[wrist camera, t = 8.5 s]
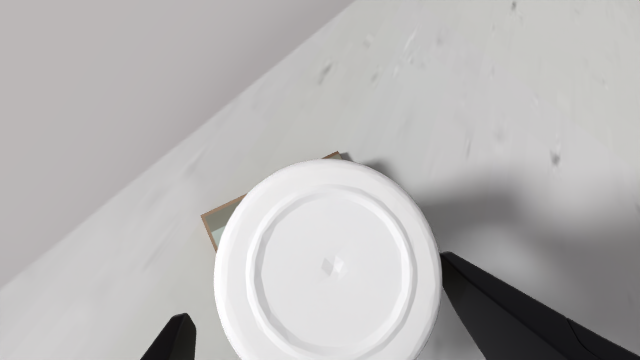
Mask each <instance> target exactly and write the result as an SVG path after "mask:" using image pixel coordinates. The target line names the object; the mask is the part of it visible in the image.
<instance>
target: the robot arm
mask: <svg viewBox="0 0 640 360" xmlns="http://www.w3.org/2000/svg"><path fill="white" fill-rule="evenodd" d="M439 255H440V259H441V268H442V286H443V288H444V290H445V292H446V294H447V296H448V298H449V300H450V302H451V304H452V305H453V307H454V309H455V311H456V313H457V315H458V316H459V318H460V319H461V321H462V323H463V324H464V326H465V327H466V329H467V330H468V332H469V333H470V335H471V337H472V338H473V340H474V341H475V343H476V344H477V346H478V348H479V349H480V351H481V352H482V354H483V355H484V357H485V358H486V360H640V356H638V355H636V354H634V353H632V352H630V351H628V350H626V349H625V348H623V347H621V346H619V345H617V344H615V343H613V342H611V341H609V340H607V339H605V338H603V337H601V336H600V335H598V334H596V333H594V332H592V331H590V330H589V329H587V328H585V327H583V326H581V325H580V324H578V323H576V322H574V321H573V320H571V319H569V318H566V317H565V316H564V315H562V314H560V313H558V312H556V311H555V310H553V309H551V308H549V307H548V306H546V305H544V304H542V303H541V302H539V301H537V300H535V299H533V298H532V297H530V296H528V295H526V294H525V293H523V292H521V291H519V290H518V289H516V288H514V287H512V286H510V285H509V284H507V283H505V282H503V281H502V280H500V279H498V278H496V277H494V276H493V275H491V274H489V273H487V272H486V271H484V270H482V269H480V268H479V267H477V266H475V265H473V264H471V263H470V262H468V261H466V260H464V259H463V258H461V257H459V256H457V255H456V254H454V253H452V252H449V251H447V252H443V253H439ZM195 344H196V327H195V325H194V323H193V321H192V320H191V318H190V316H189V315H188V314H187V313H182V314H178V315H175V316H173V317H172V318H171V319H170V320H169V322H168V323H167V324H166V326H165V327H164V328H163V330H162V331H161V332H160V334H159V335H158V336H157V338H156V339H155V340H154V342H153V343H152V345H151V346H150V347H149V349H148V350H147V351H146V353H145V354H144V355H143V357H142V358H141V359H140V360H194V358H195Z"/></svg>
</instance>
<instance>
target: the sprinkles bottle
mask: <svg viewBox="0 0 640 360" xmlns="http://www.w3.org/2000/svg"><path fill="white" fill-rule="evenodd" d="M214 292H215V300H216V305H217V310H218V314H219V317H220V320H221V323H222V326H223V329H224V331H225V334H226V336H227V338H228V340H229V342H230V343H231V345H232V347H233V348H234V350H235V351H236V353H237V354H238V356H239V357H240V358H241V360H415V359H416V358H417V357H418V355H419V354H420V352H421V351H422V349H423V348H424V346H425V345H426V343H427V341H428V339H429V337H430V334H431V332H432V330H433V327H434V325H435V322H436V319H437V316H438V312H439V307H440V302H441V294H442V268H441V259H440V255H439V251H438V247H437V243H436V240H435V237H434V235H433V233H432V230H431V228H430V225H429V223H428V222H427V220H426V218H425V216H424V215H423V213H422V211H421V209H420V208H419V207H418V205H417V204H416V203H415V201H414V200H413V199H412V198H411V197H410V196H409V195H408V194H407V192H406V191H405V190H403V189H402V188H401V187H400V186H399V185H398V184H397V183H395V182H394V181H393V180H391V179H390V178H388V177H387V176H385V175H383V174H382V173H380V172H378V171H377V170H374V169H372V168H370V167H368V166H365V165H362V164H359V163H356V162H351V161H347V160H339V159H314V160H309V161H303V162H299V163H296V164H293V165H290V166H287V167H285V168H283V169H280V170H279V171H277V172H275V173H273V174H272V175H270V176H269V177H267V178H266V179H264V180H263V181H262V182H260V183H259V184H258V185H256V186H255V187H254V188H253V189H252V190H251V191H250V192H249V193H248V194H247V195H246V196H245V197H244V198H243V200H242V201H241V202H240V204H239V205H238V206H237V207H236V209H235V211H234V212H233V214H232V216H231V217H230V219H229V221H228V222H227V225H226V227H225V229H224V231H223V234H222V236H221V239H220V243H219V246H218V250H217V254H216V261H215V270H214Z"/></svg>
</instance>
